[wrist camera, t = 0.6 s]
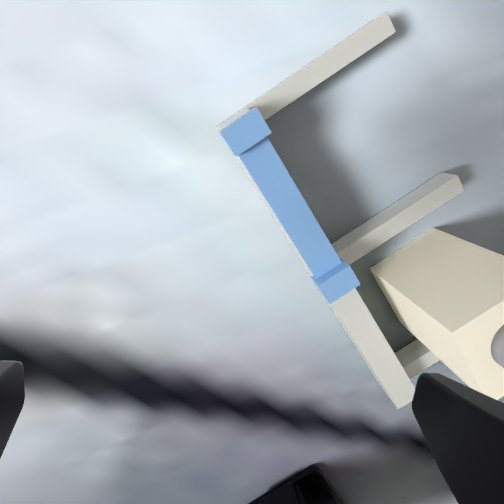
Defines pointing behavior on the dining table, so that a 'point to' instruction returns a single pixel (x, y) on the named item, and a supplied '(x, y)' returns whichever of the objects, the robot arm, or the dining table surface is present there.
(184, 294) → the dining table surface
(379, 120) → the dining table surface
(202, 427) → the dining table surface
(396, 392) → the white post rack
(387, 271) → the cream rectangular block
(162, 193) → the dining table surface
